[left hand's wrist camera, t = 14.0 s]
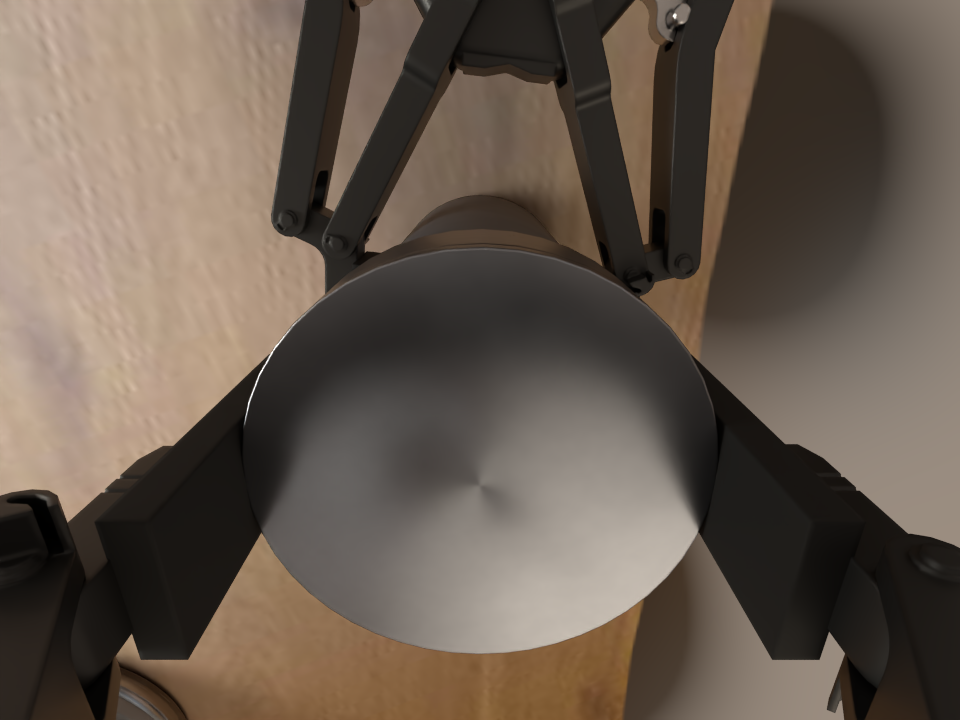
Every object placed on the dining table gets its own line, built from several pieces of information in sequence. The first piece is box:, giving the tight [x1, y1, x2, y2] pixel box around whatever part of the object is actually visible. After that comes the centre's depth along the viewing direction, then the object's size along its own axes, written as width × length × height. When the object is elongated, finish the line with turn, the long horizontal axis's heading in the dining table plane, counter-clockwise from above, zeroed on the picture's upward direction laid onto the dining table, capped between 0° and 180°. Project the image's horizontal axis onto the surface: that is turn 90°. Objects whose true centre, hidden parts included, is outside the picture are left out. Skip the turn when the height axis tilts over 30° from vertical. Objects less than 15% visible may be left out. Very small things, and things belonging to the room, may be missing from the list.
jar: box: [402, 195, 558, 243], centre depth 19 cm, size 8×8×18 cm
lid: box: [242, 229, 718, 654], centre depth 11 cm, size 9×9×2 cm
